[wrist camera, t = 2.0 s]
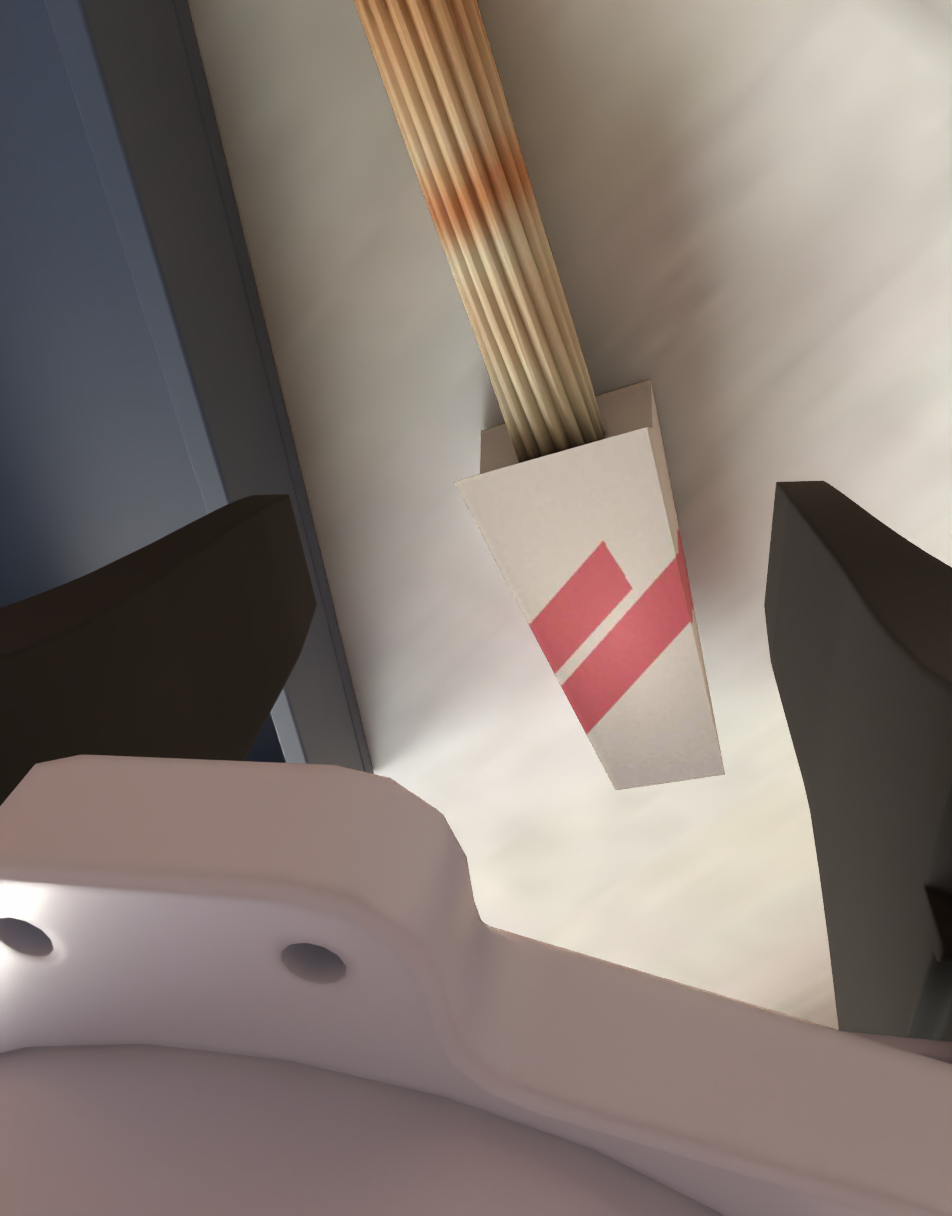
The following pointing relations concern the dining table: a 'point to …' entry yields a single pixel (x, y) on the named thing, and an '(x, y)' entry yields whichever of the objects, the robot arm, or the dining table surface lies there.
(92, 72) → the tray
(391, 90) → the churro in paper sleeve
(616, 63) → the dining table surface
